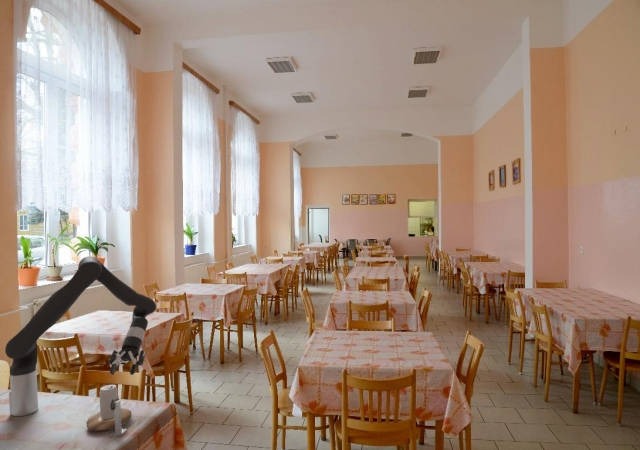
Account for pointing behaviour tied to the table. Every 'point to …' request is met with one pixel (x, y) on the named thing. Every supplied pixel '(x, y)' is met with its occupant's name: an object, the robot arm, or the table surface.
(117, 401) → the stand
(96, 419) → the disc
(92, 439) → the table surface
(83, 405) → the table surface
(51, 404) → the table surface
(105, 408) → the beverage can
